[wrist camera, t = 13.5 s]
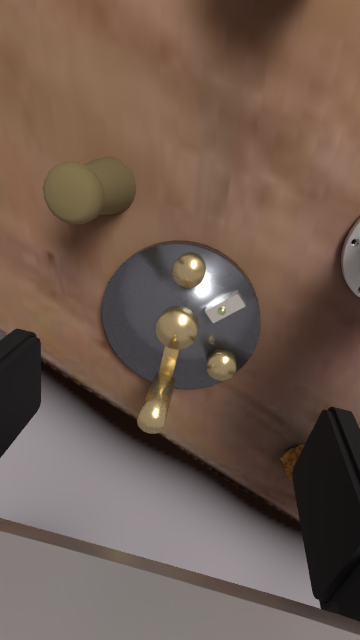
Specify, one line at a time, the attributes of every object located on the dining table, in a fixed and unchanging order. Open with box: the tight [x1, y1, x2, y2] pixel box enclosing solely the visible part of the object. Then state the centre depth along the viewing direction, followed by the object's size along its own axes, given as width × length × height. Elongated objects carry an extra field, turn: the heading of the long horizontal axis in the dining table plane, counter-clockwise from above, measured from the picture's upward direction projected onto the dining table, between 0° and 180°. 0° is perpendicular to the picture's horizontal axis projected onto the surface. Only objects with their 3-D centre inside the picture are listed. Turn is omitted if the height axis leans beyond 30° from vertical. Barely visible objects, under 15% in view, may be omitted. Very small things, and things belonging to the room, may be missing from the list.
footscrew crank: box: [137, 306, 198, 434], centre depth 39 cm, size 12×5×9 cm, turn 168°
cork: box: [43, 157, 135, 225], centre depth 33 cm, size 6×6×11 cm
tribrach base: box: [102, 241, 260, 389], centre depth 42 cm, size 20×20×4 cm
